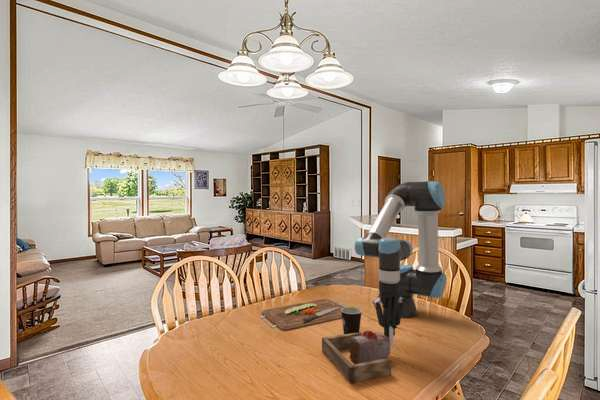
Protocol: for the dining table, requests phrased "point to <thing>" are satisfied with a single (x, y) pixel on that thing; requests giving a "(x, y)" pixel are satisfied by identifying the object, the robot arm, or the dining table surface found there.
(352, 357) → the food item
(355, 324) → the coffee mug
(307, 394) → the dining table surface
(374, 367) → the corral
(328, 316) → the chopping board
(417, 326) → the dining table surface
